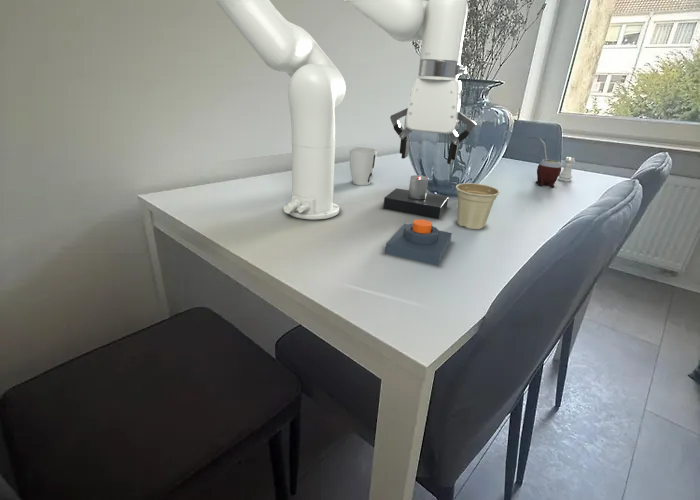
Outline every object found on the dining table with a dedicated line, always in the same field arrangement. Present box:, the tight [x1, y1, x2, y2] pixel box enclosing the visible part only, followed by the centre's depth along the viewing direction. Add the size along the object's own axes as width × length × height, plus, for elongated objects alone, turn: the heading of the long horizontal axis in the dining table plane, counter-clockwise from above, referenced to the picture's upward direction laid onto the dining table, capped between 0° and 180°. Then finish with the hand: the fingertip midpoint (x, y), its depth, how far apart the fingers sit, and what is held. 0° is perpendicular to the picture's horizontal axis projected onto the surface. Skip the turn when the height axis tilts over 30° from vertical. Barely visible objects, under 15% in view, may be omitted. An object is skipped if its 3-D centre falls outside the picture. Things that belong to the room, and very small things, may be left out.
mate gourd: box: [535, 137, 562, 188], centre depth 127 cm, size 8×8×15 cm
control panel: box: [383, 187, 449, 220], centre depth 98 cm, size 14×10×3 cm
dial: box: [408, 174, 430, 200], centre depth 97 cm, size 4×4×5 cm
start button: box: [412, 218, 433, 233], centre depth 74 cm, size 4×4×2 cm
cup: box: [349, 146, 378, 186], centre depth 117 cm, size 8×8×10 cm
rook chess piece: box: [557, 156, 576, 183], centre depth 136 cm, size 4×4×8 cm
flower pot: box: [455, 182, 501, 230], centre depth 88 cm, size 9×9×9 cm
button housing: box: [384, 222, 453, 267], centre depth 75 cm, size 12×10×4 cm
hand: (426, 160), depth 83 cm, fingers open, 9 cm apart
